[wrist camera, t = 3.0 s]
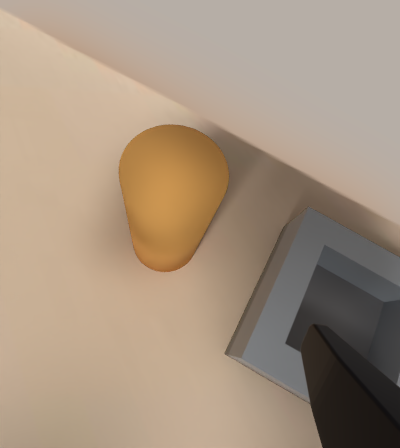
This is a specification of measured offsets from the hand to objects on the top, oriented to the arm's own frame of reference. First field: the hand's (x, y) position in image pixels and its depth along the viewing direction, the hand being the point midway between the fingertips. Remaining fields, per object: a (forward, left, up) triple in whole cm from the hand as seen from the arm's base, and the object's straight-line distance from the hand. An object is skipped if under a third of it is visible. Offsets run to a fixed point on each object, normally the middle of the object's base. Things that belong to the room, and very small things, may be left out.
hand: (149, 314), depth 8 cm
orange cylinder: (+2, +5, -12) cm, 13 cm away
